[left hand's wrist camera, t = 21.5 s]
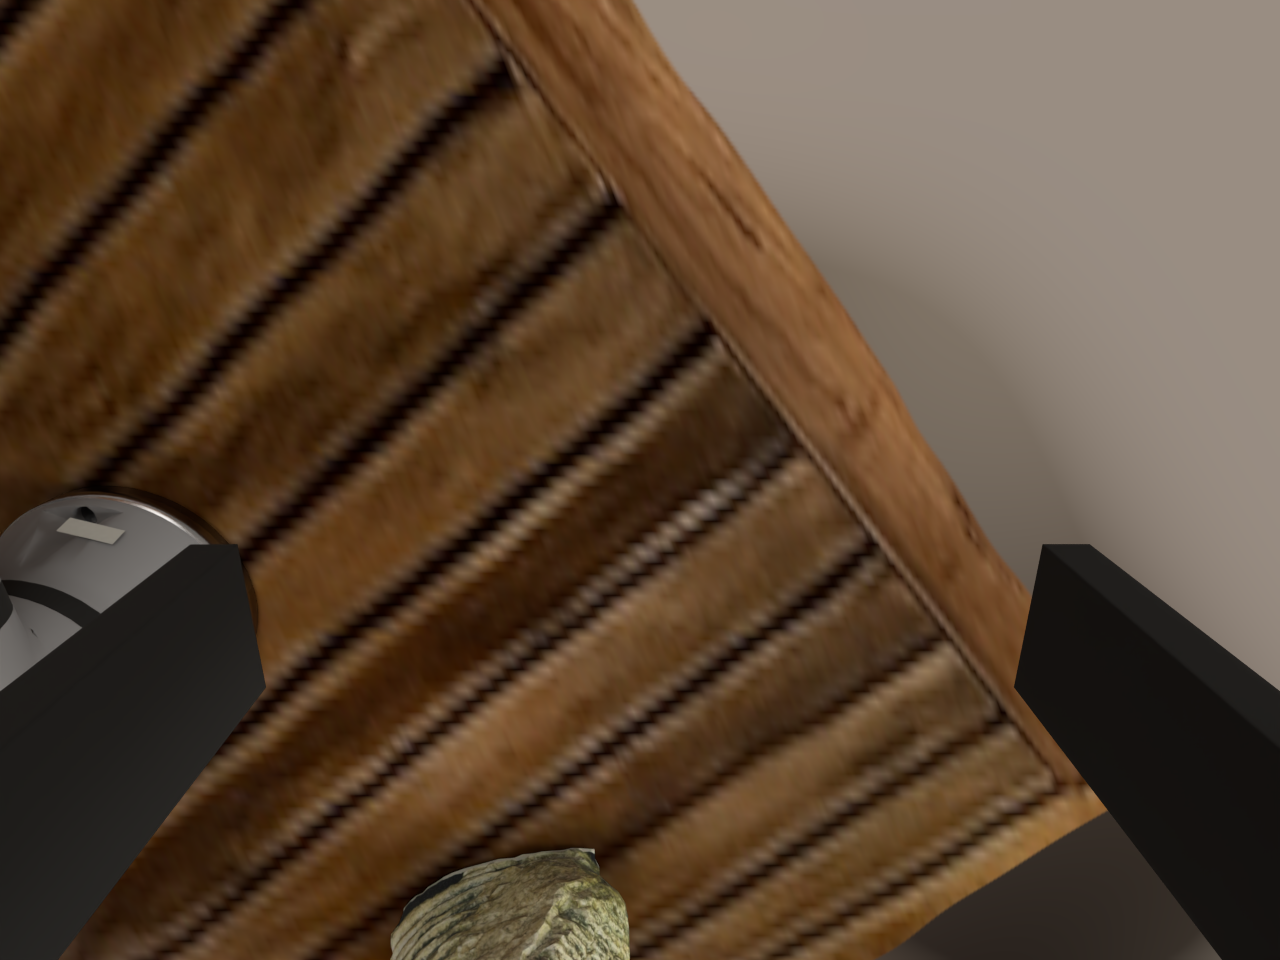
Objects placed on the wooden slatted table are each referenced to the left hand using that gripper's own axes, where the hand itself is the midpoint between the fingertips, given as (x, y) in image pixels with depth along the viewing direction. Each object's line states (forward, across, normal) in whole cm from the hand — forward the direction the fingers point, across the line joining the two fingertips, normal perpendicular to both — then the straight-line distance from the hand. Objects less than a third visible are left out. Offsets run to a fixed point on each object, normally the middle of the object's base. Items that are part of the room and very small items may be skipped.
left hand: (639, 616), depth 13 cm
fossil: (+32, +9, +42) cm, 53 cm away
